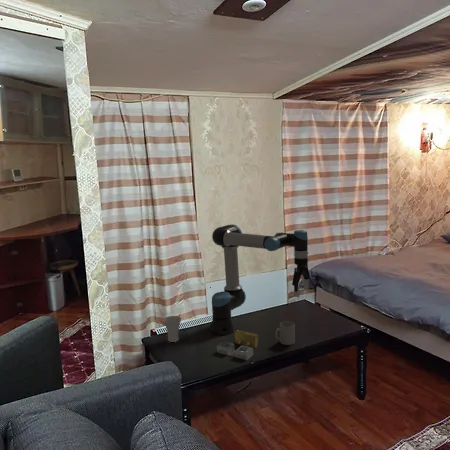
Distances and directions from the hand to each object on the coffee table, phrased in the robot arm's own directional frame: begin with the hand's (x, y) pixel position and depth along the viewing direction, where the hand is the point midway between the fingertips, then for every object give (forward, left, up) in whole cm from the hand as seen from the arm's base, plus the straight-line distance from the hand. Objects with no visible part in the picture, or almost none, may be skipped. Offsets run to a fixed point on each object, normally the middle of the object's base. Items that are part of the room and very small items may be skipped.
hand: (301, 293), depth 239 cm
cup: (-65, -39, -27) cm, 81 cm away
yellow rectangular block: (-24, -23, -27) cm, 43 cm away
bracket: (-24, -36, -27) cm, 51 cm away
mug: (-6, -10, -27) cm, 30 cm away
